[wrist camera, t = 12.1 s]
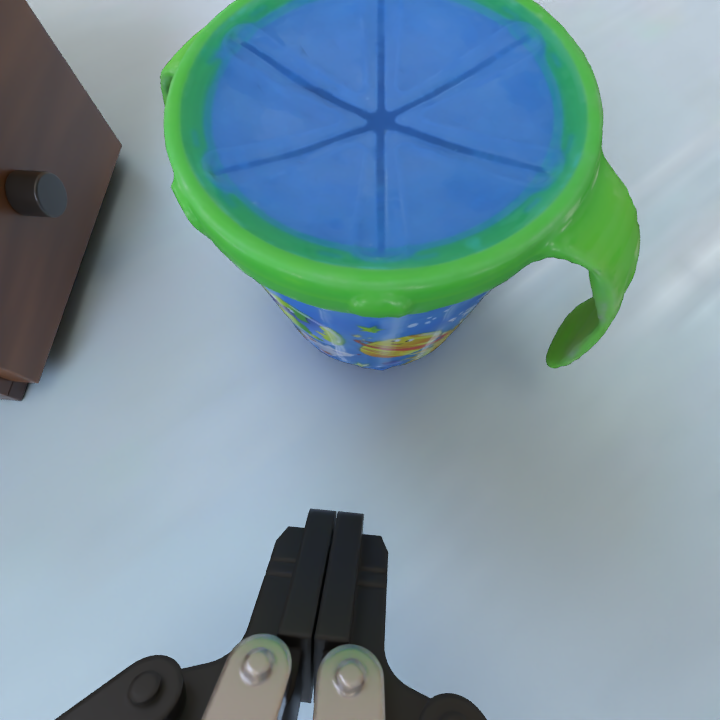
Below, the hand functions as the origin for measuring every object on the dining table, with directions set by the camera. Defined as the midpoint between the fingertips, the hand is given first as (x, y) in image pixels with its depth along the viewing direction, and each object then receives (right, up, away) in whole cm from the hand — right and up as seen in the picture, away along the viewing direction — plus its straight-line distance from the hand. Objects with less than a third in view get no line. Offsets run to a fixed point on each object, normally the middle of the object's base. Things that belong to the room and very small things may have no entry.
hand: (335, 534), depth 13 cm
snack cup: (+1, +8, +8) cm, 11 cm away
